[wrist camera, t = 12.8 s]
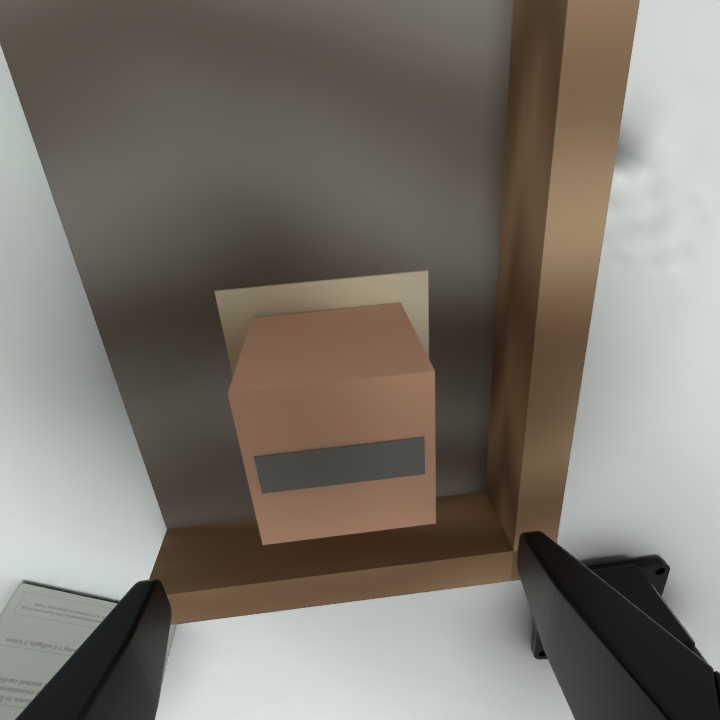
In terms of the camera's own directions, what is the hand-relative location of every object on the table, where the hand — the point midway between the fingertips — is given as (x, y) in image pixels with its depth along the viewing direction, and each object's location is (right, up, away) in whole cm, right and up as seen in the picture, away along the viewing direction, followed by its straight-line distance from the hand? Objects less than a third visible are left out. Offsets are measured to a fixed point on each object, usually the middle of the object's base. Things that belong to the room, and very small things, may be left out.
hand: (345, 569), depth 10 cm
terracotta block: (-1, +4, +8) cm, 8 cm away
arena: (-1, +6, +8) cm, 10 cm away
